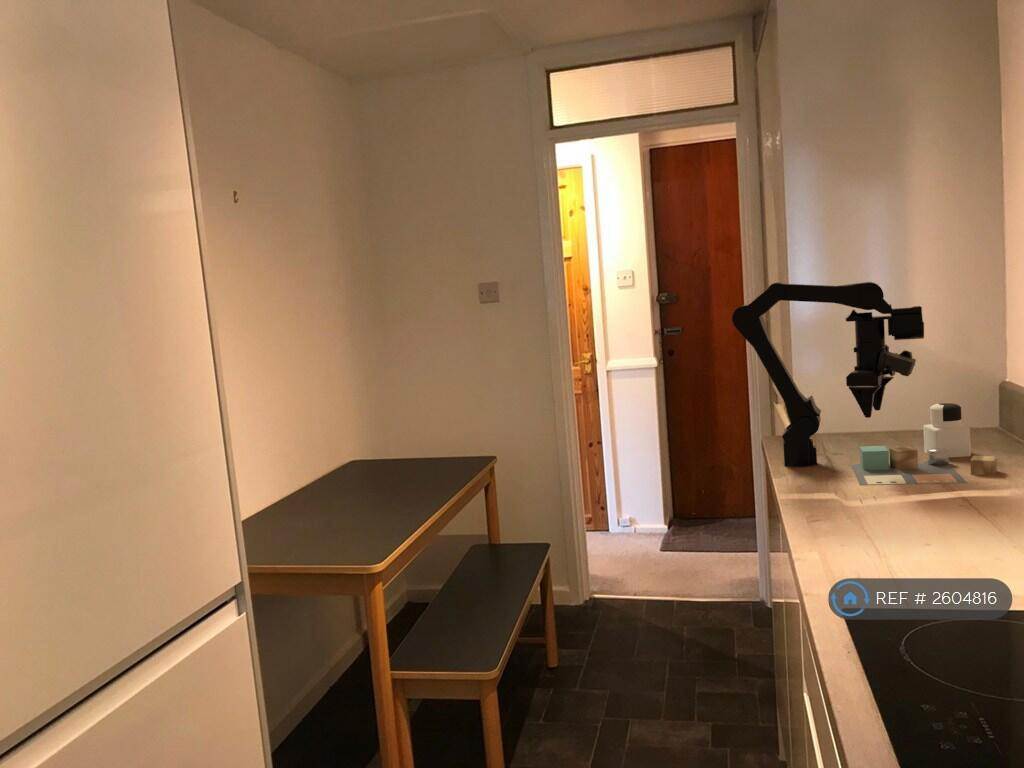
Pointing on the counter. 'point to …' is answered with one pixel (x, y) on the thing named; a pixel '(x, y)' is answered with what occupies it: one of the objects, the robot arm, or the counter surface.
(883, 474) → the board
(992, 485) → the counter surface
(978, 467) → the oak cube
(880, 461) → the green cube
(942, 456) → the metal tin
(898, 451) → the oak cube
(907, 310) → the robot arm
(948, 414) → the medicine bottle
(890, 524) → the counter surface
